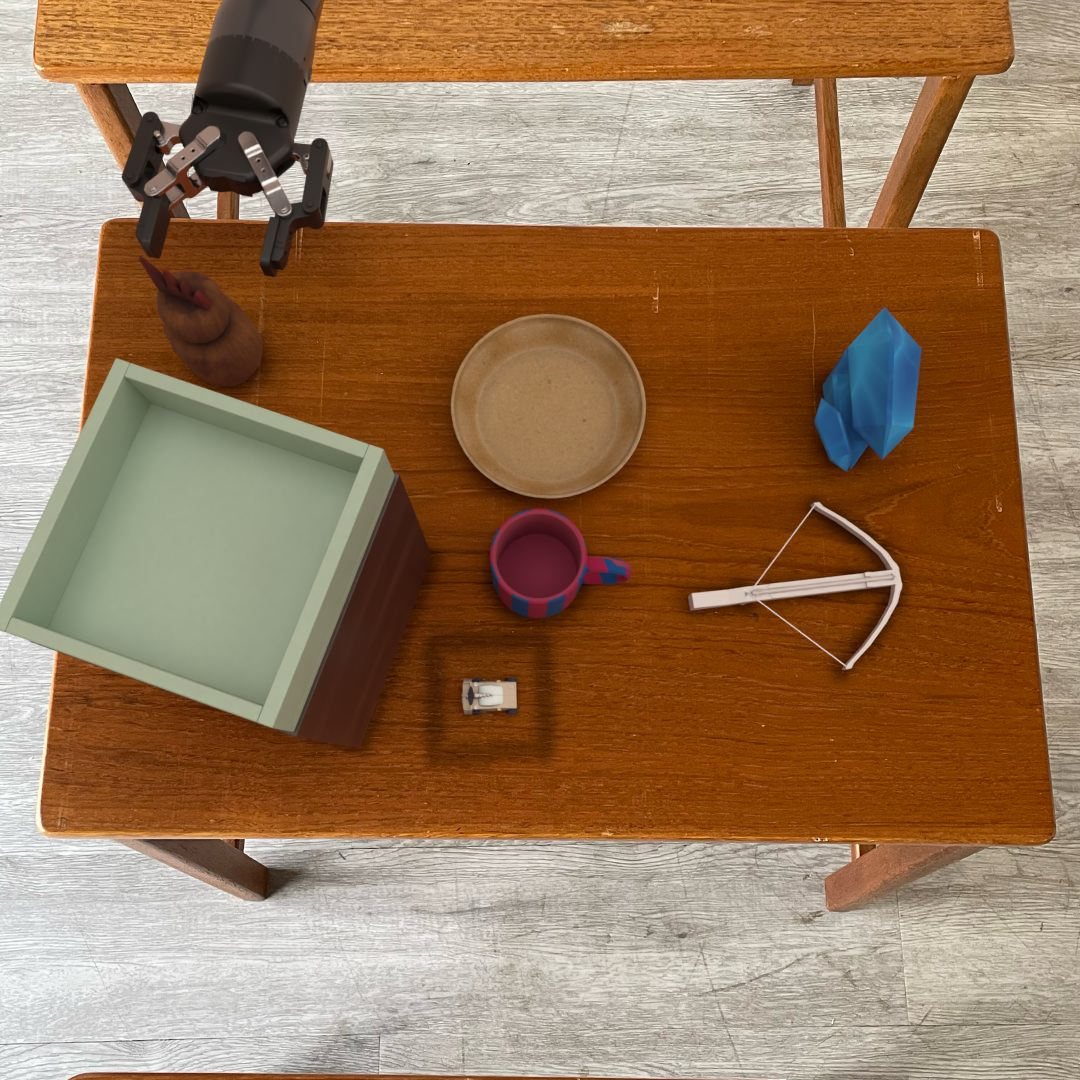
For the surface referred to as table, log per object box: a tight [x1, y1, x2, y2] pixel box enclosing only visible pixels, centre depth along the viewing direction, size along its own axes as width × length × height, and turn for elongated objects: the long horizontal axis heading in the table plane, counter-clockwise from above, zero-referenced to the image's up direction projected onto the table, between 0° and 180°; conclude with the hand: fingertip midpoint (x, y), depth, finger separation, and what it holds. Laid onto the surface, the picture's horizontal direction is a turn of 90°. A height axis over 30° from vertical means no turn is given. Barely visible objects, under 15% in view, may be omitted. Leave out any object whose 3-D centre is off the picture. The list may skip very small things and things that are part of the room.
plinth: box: [29, 471, 433, 749], centre depth 66 cm, size 15×15×22 cm
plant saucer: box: [450, 313, 647, 499], centre depth 80 cm, size 15×15×3 cm
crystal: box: [813, 306, 922, 472], centre depth 78 cm, size 7×9×12 cm
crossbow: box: [687, 501, 904, 671], centre depth 77 cm, size 16×13×2 cm
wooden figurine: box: [138, 255, 264, 388], centre depth 74 cm, size 7×6×15 cm
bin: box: [0, 358, 394, 732], centre depth 53 cm, size 15×15×5 cm
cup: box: [489, 508, 632, 619], centre depth 75 cm, size 7×10×7 cm
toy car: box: [460, 676, 519, 716], centre depth 75 cm, size 3×4×2 cm, turn 92°
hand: (208, 262), depth 74 cm, fingers open, 8 cm apart
